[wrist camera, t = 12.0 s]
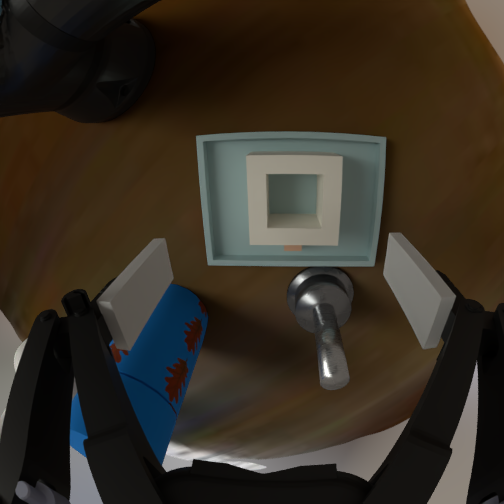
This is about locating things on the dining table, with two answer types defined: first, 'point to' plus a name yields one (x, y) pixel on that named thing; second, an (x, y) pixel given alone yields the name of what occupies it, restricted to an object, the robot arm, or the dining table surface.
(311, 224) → the ring
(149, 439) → the thermos
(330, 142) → the tray
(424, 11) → the dining table surface
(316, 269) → the stake
